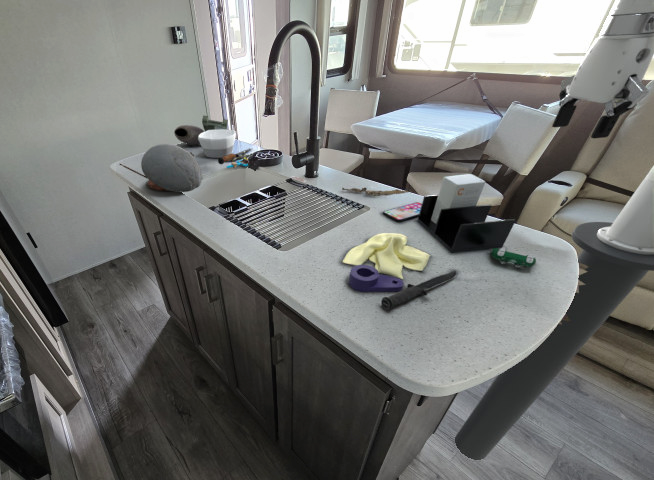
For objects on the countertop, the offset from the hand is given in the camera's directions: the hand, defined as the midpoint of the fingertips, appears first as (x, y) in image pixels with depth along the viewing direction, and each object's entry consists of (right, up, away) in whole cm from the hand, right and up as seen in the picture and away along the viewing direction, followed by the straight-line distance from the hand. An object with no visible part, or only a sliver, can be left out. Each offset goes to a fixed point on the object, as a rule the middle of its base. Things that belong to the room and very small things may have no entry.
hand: (578, 131), depth 68 cm
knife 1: (-81, +33, +88) cm, 125 cm away
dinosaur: (-72, +32, +81) cm, 113 cm away
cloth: (-35, -25, +16) cm, 46 cm away
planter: (-109, +49, +99) cm, 155 cm away
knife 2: (-30, -33, +5) cm, 45 cm away
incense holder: (-107, +11, +64) cm, 125 cm away
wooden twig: (-26, +4, +48) cm, 54 cm away
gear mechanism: (-71, +24, +73) cm, 105 cm away
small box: (-12, -14, +26) cm, 32 cm away
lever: (-40, -32, +7) cm, 52 cm away
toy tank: (-92, +60, +107) cm, 154 cm away
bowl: (-88, +35, +92) cm, 132 cm away
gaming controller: (-6, -27, +11) cm, 30 cm away
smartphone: (-20, -9, +34) cm, 41 cm away
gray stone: (-99, +18, +51) cm, 113 cm away
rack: (-12, -17, +23) cm, 31 cm away
